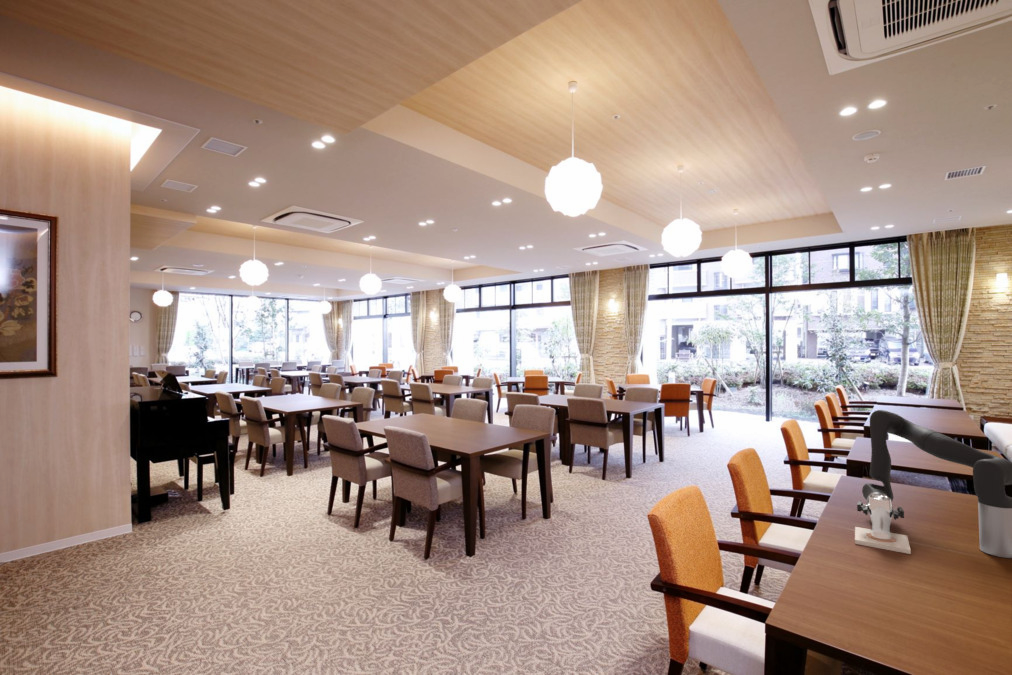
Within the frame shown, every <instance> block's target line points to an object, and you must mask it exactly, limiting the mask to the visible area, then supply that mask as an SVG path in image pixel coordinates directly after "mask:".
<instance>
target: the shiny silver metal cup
mask: <svg viewBox="0 0 1012 675" xmlns="http://www.w3.org/2000/svg"><path fill="white" fill-rule="evenodd" d="M892 507H893V505H892V502H891V498H889V497H886V496H881V495H869V513H868V514H869V518H870V522H871V529H872V532H871V536H872V537H874V538H877V539H881V540H891V535H890V533H891V530H890V526H891V522H892V517H893V516H892Z"/></svg>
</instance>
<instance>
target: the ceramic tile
mask: <svg viewBox="0 0 1012 675" xmlns="http://www.w3.org/2000/svg"><path fill="white" fill-rule="evenodd" d="M871 532H872V528H865V527H859V526H854V543H855V544H856V545H861V546H866V547H871V548H875V549H880V550H881V549H882V550H887V551H893V552H896V553H904V554H908V555H912V553H911V552H912V551H911V546H910V542H909V539H908V538H909V537H908V535H907V534H906V535H905V534H899V533H894V532H890V535H891V540H881V539H877V538H874V537H872V536H871Z"/></svg>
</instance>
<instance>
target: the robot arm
mask: <svg viewBox="0 0 1012 675" xmlns="http://www.w3.org/2000/svg"><path fill="white" fill-rule="evenodd" d="M869 430H870V446H871V455H870V457H871V458H870V465H869V476H870V477H871V478H873V479H875V480H877V481H880V482H881V483H882V484H883V485H879V484H875V483H870V482H869V483H865V484H864V485H863V486H862V488H861V493H862V496H863V498H864V499H865V501H867V502H866V503H863V502H862V501H861V500H858V501H857V503H856V508H857V509H856V510H857V512H862V514H864V515H866V516H868V515H869V514H870V513H869V495H881V496H886V497H889V498H891V503H892V502H893V500H894V493H893V489H892V484H891V470H892V458H891V455H890V452H889V448H888V446H887V445H888V444H887V435H888V434H889V435H893V436H896V437H901V438H903V439H904V440H907V441H909V442H911V443H912V444H913V445H914V446H916V447H917V448H918V449H919V450H921V451H923V452H926V453H927V454H929V455H931V456H933V457H935V458H937V459H941V460H943V461H948V462H951V463H955V464H957V465H958V464H960V465H963V466H965V467H966V466H967V467H970V468H972V479H973V488H974V493H975V495H976V498H977V506H978V507H977V511H978V534H979V535H978V536H979V537H978V538H979V542H978V543H979V549H980V551H982V552H983V553H985V554H988V555H991V556H995V557H999V558H1005V559H1012V497H1011V496H1008V495H1007V494H1006V489H1005V488H1006V486H1009V485H1010V486H1011V485H1012V461H1010V460H1007V459H1005V458H1002V457H1000V456H997V455H994V454H990V453H987V452H984V451H982V450H980V449H976V448H975V447H973V446H970V445H967V444H966V443H963V442H961V441H958V440H957V439H954V438H952V437H950V436H948V435H945V434H943V433H941V432H939V431H935V430H933V429H931V428H928V427H924V426H920V425H918V424H915V423H913V422H911V421H909V420H908V419H906V418H904V417H902V416H901V415H899V414H897V413H894V412H891V411H887V410H884V409H877V410H875V411H873V412H872V413H871V414H870V416H869ZM892 517H893V520H894V521H895V520H896V521H897V520H898V519H900V518H901V519H904V518H905V511H904V509H903V507H901V506H898V507H896V508H895V507H894V506H892Z"/></svg>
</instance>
